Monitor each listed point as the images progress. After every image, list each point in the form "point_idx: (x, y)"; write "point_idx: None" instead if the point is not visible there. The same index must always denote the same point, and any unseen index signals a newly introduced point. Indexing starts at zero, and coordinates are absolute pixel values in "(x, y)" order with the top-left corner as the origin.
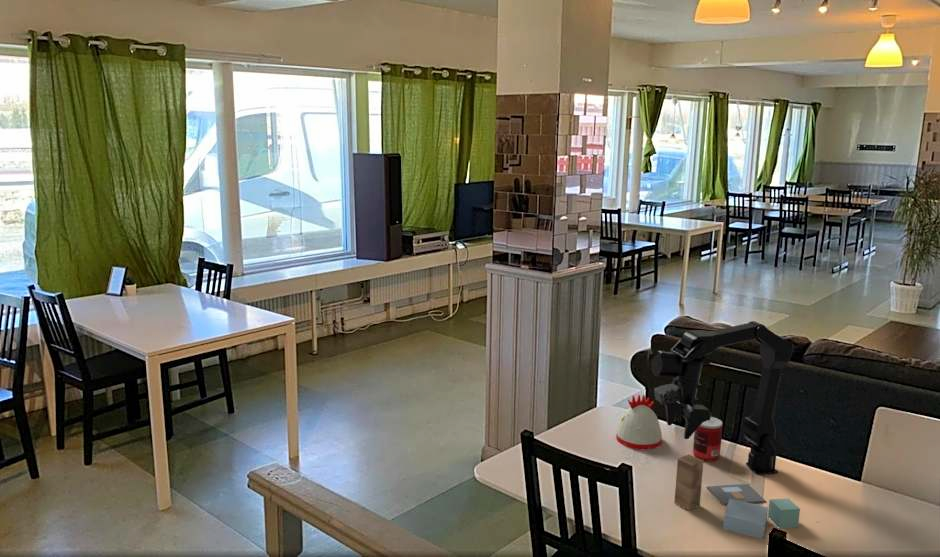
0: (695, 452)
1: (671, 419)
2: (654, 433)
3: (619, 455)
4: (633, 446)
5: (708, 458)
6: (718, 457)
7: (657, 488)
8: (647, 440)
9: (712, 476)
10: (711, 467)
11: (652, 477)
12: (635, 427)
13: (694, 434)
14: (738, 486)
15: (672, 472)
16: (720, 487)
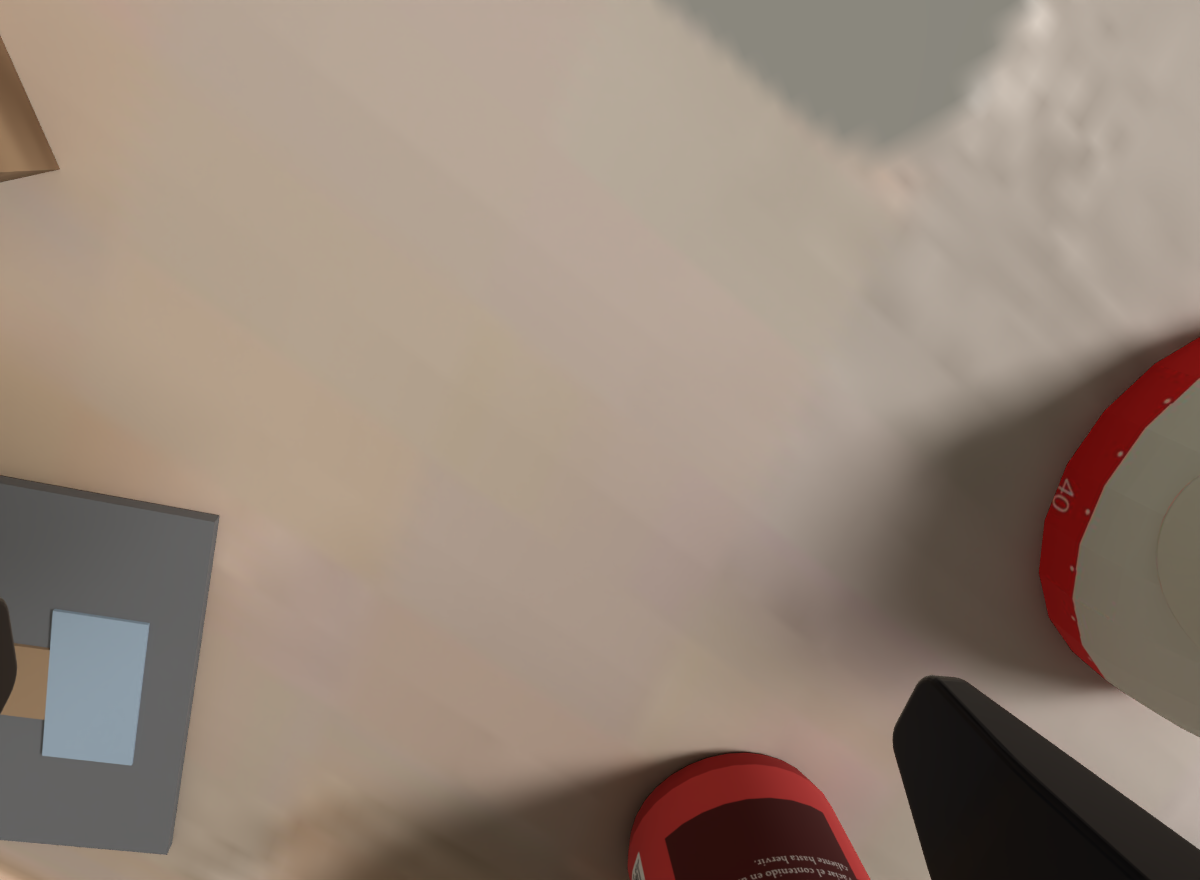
0: (757, 779)
1: (985, 865)
2: (1172, 624)
3: (1143, 124)
4: (1172, 368)
5: (646, 817)
6: None
7: (358, 6)
8: (1139, 509)
9: (404, 686)
10: (545, 764)
11: (600, 136)
12: None
13: None
14: (142, 769)
15: (605, 409)
16: (161, 625)
